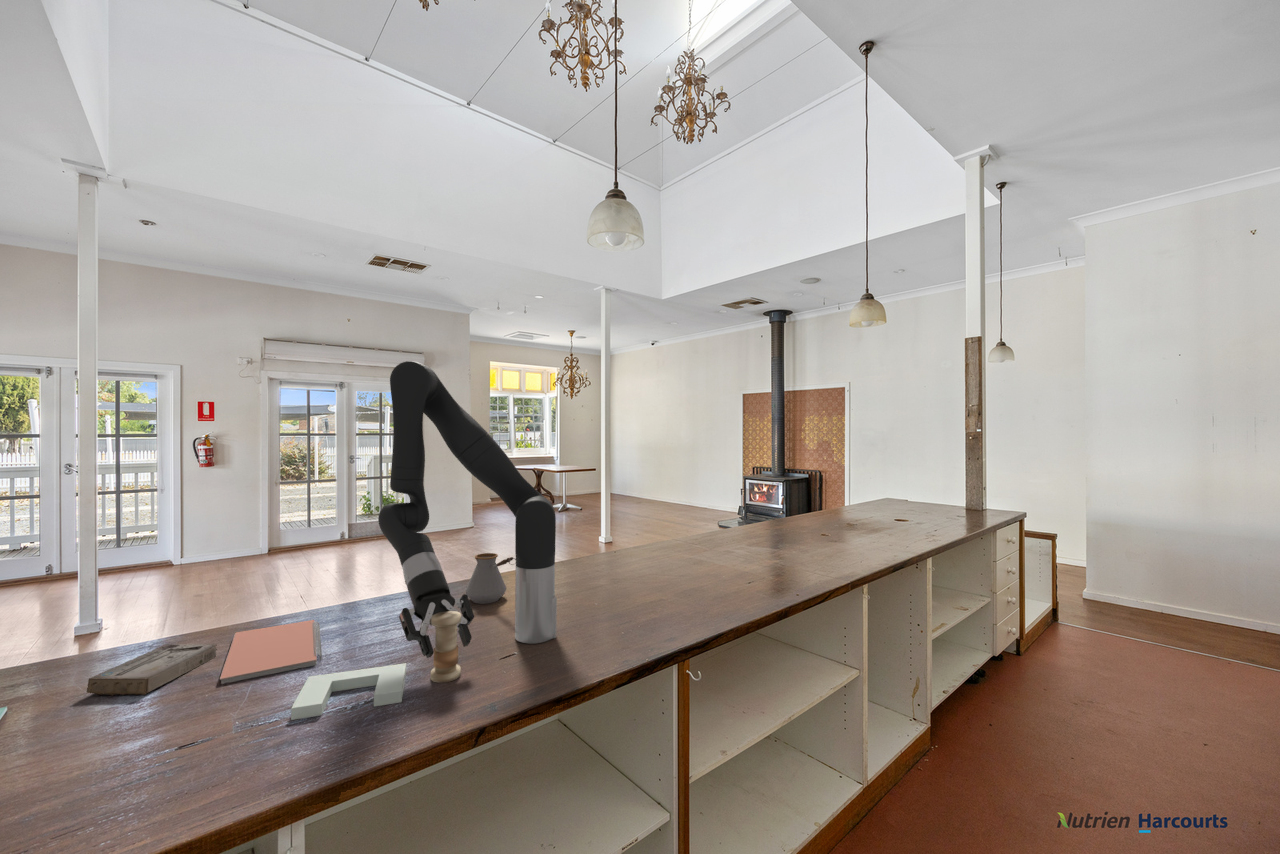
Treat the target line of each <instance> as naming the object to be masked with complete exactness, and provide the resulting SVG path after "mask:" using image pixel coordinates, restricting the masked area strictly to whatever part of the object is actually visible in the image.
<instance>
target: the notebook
mask: <svg viewBox="0 0 1280 854" xmlns="http://www.w3.org/2000/svg"><path fill="white" fill-rule="evenodd" d="M320 626H321V625H320V622H318V621H315V619H310V620H305V621H300V622H299V621H298V622H291V623H286V624H281V625H280V624H279V625H273V626H267V627H261V628H254V629H249V630H243V631H237V632H235V633H234V636H233V638H232V641H231V645H230V648H229V651H228V653H227V656H226V659H225V662H224V665H223V668H222V671H221V675H220V677H219V680H220V681H221V685H224V684H229V683H234V682H239V681H242V680H243V681H244V680H248V679H254V678H258V677H263V676H269V675H274V674H277V673H282V672H288V671H292V670H298V669H302V668H303V669H304V668H307V667H311V666H317V655H319V659H320V661H322V659H323V653H322V652H323V651H322V641H321V639H322V638H321V628H320Z"/></svg>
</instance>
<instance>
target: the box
mask: <svg viewBox="0 0 1280 854" xmlns="http://www.w3.org/2000/svg"><path fill="white" fill-rule="evenodd" d="M217 651H218V649H217V644H214V643H213V644H204V643H200V644H198V643H197V644H196V643H195V644H187V643H186V644H184V643H174V644H173V643H166V644H164V645H161V646H159V647H157V648H155V649H152V650H150V651H147V652H146V653H143V654H141V655H139V656H137V657H135V658H133V659H129V660H127V661H125V662H124V663H121V664H118V665H116V666H114V667H112V668H109V669H108V670H105V671H103V672H100V673H98V674H96V675H94V676H92V677H89V678H88V679H87V680H88V681H87V688H86V694H95V695H99V696H102V695H110V696H111V697H114V695H121V696H124V695H128V696H129V695H135V696H138V695H142V696H146V695H147V694H148V693H150V692H152V691H154V690H156V689H158V688H159V687H162V686H163V685H165V684H168V683H169V682H171V681H173V680H176V678H178V677H181V676H182V675H185V674H186V673H188V672H190V671H192V670H194V669H195V668H198V667H200V666H202V665H203V664H205V663H207V662H208V661H210V660H212V659H214V658H216V657H217Z"/></svg>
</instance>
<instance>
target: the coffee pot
mask: <svg viewBox="0 0 1280 854" xmlns="http://www.w3.org/2000/svg"><path fill="white" fill-rule="evenodd" d="M498 557H499V555H498V554H497V553H494V552H483V553H478V554H476V555H475V556H474V559H475V560H476V566H475V567H474V571H473V573H472V575H471V577H470V579H469V581H468V584H467V586H466V589H465V594H466V595H467V596H468V599H469V600H471V601H472V602H473V603H475V604H481V605H483V604H484V605H485V604H492V603H495V602H498V601H499V600H500V598H501V597H503V596H504V595H505V594H506V591H507V586H506V583H505V581H504V579H503V577H502V573H501V572H500V569H499V567H500V566H504V565H506V564H507V563H508V564H509V565H510V566H511V565H512V566H514V565H515V563H512V564H511V561H513V560H515V561H516V557H515V558H514V557H510V556H509V557H507V558H505V559H503V560H501V561H499V562H498V563H497V562H496V561H497V558H498Z"/></svg>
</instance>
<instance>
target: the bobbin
mask: <svg viewBox="0 0 1280 854" xmlns="http://www.w3.org/2000/svg"><path fill="white" fill-rule="evenodd" d="M461 615H462V613H461V611H459V612H457V611H445V612H440V613H437V614H434V615H433V616H432V617H431V624H432V625H431V626H433V627H434V628H435V641H434V645H435V646H434V648H433V651H434V653H433V668H432V669H431V671H430V680H431V681H432V682H434V683H439V684H441V683H442V684H443V683H449V682H453V681H454V680H458V678H459V677H461V674H462V673H461V672H462V671H461V669H462V668H461V666H460V664H459V646H458V645H457V642H458V641H457V640H458V639H457V636H458V633H457V632H458V631H457V630H458V628H457V624H458V623H460V622H461Z"/></svg>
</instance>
